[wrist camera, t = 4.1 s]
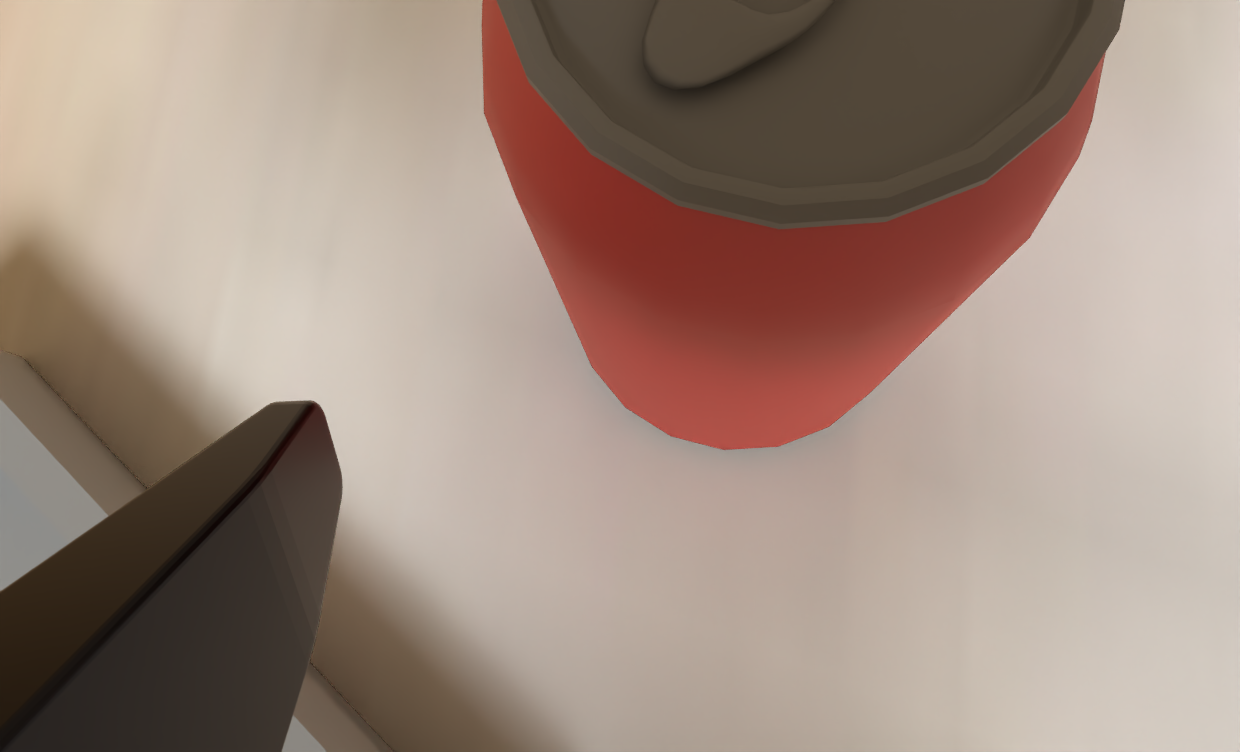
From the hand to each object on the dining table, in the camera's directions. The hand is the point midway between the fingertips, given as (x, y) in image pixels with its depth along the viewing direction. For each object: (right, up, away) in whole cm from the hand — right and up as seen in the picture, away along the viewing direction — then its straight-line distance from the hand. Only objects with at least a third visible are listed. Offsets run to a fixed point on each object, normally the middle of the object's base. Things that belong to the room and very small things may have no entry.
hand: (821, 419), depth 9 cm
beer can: (+1, +2, +12) cm, 12 cm away
